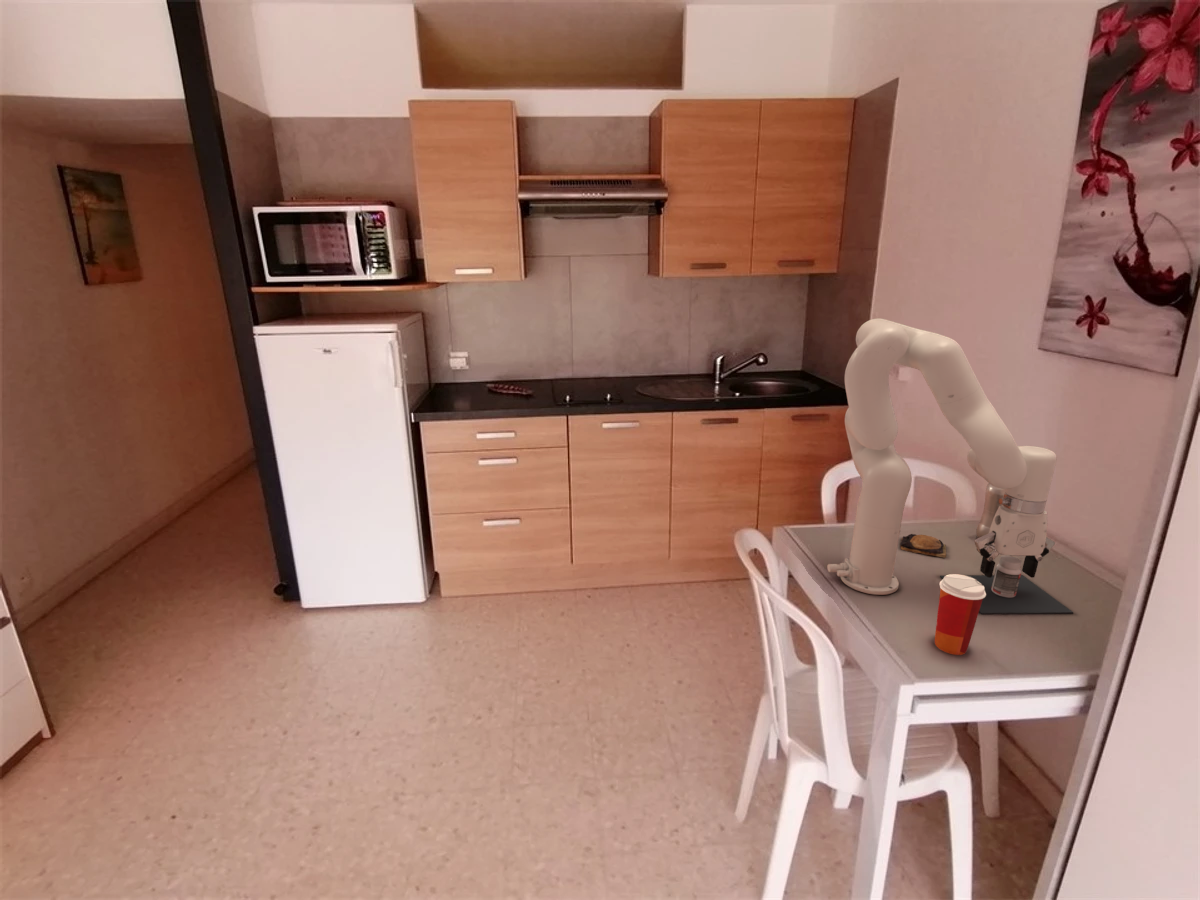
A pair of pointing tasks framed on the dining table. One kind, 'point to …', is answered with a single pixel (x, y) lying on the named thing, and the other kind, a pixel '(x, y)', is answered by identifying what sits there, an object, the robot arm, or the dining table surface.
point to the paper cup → (957, 612)
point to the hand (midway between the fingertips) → (1006, 574)
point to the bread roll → (923, 545)
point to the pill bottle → (1006, 576)
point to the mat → (1018, 599)
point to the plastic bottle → (989, 509)
